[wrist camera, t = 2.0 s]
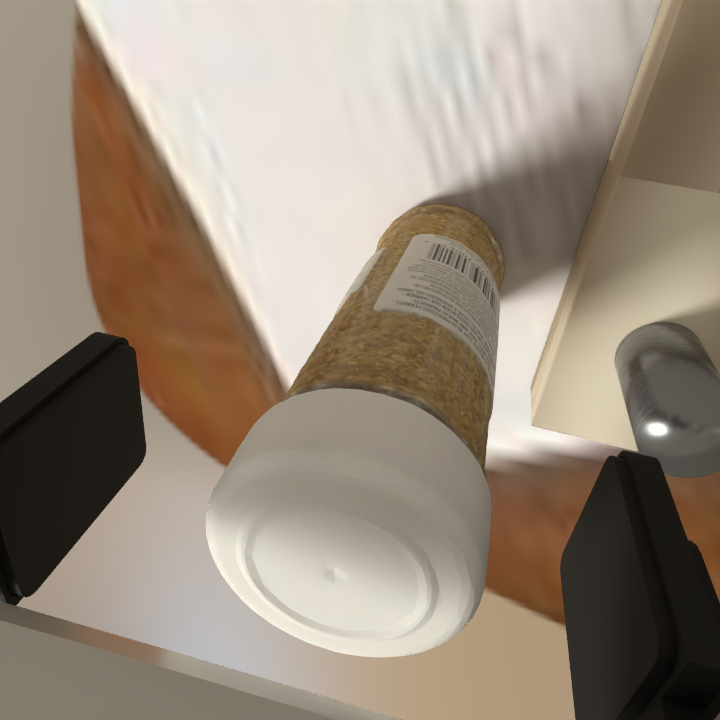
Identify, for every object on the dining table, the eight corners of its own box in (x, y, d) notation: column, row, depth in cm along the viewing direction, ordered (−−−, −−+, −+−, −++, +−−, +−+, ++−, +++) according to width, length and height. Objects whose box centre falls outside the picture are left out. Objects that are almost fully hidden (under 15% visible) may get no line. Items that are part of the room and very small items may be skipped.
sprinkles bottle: (353, 243, 20) (139, 512, 9) (465, 174, 18) (370, 413, 7) (420, 343, 22) (306, 687, 10) (531, 289, 19) (543, 648, 8)
